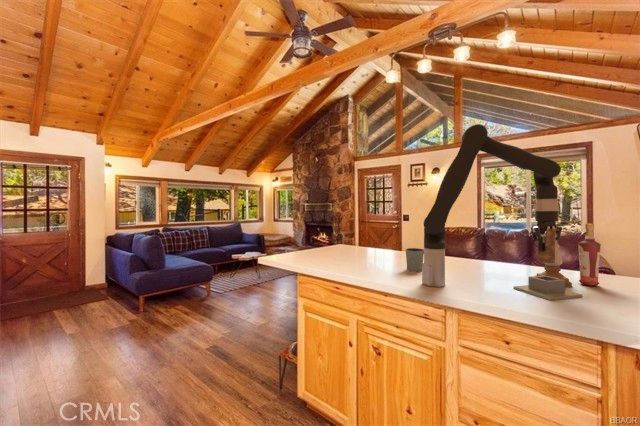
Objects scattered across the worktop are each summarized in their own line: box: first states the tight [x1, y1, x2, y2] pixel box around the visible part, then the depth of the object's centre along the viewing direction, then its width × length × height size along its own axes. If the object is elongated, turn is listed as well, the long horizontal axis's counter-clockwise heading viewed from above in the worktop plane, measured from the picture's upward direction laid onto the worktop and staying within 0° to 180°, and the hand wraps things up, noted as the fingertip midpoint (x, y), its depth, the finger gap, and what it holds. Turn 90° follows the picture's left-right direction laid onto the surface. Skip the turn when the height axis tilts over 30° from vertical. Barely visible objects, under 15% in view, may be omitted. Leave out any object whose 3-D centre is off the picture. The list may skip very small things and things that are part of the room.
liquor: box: [578, 223, 602, 287], centre depth 129 cm, size 7×7×28 cm
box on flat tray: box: [513, 275, 583, 301], centre depth 119 cm, size 16×16×6 cm
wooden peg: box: [537, 229, 555, 264], centre depth 119 cm, size 4×4×14 cm
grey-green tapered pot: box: [405, 247, 424, 273], centre depth 164 cm, size 10×10×12 cm
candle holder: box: [535, 231, 573, 288], centre depth 133 cm, size 11×11×24 cm
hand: (546, 250), depth 119 cm, fingers closed on wooden peg, 4 cm apart
